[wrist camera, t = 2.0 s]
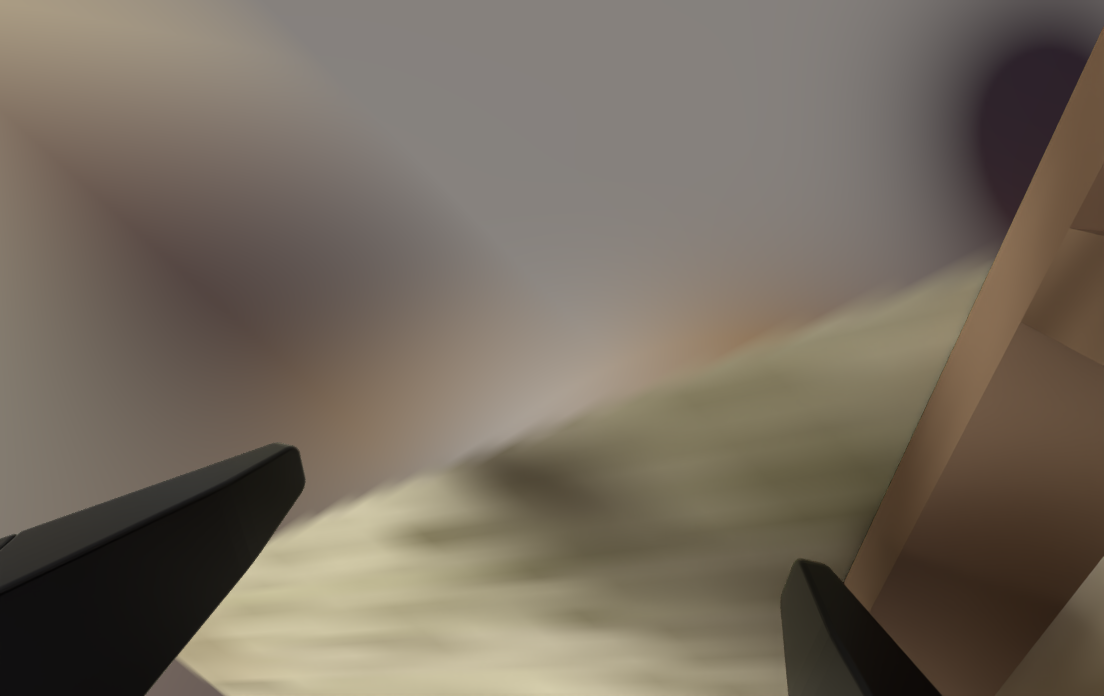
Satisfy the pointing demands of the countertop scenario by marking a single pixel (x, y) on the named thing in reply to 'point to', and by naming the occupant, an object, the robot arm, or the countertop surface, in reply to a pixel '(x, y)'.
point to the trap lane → (1007, 439)
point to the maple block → (1067, 649)
